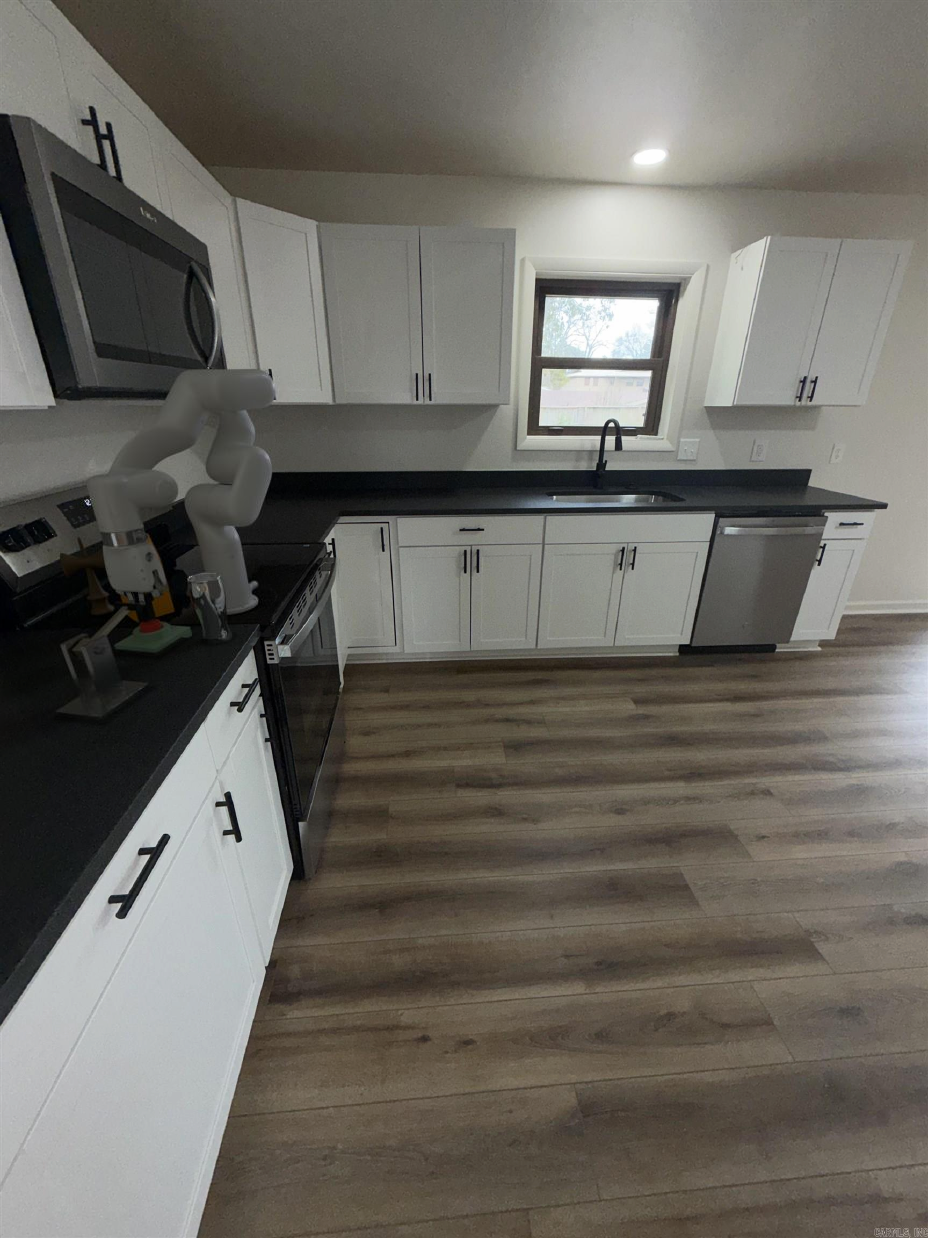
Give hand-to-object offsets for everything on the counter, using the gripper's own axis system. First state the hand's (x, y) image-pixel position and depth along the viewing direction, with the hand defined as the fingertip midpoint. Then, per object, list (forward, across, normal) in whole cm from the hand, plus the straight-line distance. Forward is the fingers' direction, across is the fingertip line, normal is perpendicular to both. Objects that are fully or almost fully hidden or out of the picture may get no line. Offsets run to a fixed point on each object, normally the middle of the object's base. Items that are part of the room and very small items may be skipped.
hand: (147, 619), depth 108 cm
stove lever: (-5, -8, +17) cm, 19 cm away
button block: (+6, 0, 0) cm, 6 cm away
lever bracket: (+6, -8, +22) cm, 24 cm away
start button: (+3, 0, 0) cm, 3 cm away
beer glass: (+6, -12, -5) cm, 15 cm away
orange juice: (+6, +14, -15) cm, 22 cm away
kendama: (+6, +26, -13) cm, 30 cm away
